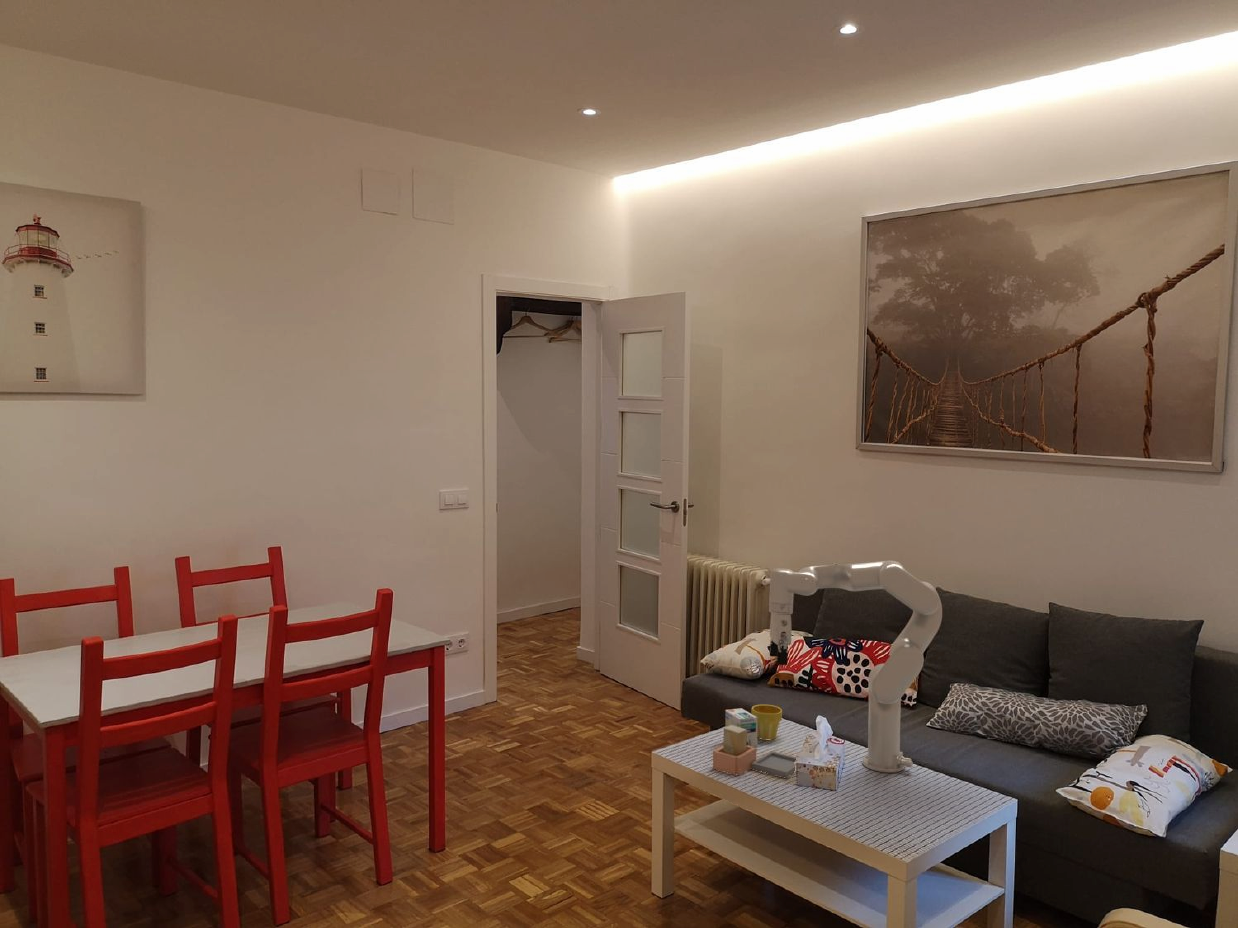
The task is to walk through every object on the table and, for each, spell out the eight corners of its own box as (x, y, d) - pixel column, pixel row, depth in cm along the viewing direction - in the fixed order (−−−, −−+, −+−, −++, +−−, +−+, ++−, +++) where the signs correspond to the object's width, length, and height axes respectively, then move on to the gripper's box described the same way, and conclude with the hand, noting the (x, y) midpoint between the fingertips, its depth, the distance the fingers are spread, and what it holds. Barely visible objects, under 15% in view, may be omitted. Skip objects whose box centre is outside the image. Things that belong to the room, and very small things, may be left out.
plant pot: (786, 735, 302) (786, 707, 302) (774, 744, 293) (775, 715, 293) (758, 729, 307) (758, 702, 307) (746, 738, 299) (746, 710, 298)
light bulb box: (758, 749, 289) (758, 716, 288) (740, 751, 286) (740, 719, 286) (741, 738, 299) (742, 707, 298) (724, 741, 296) (724, 709, 296)
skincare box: (722, 765, 274) (722, 727, 274) (730, 762, 277) (731, 724, 277) (738, 771, 270) (738, 732, 269) (747, 767, 273) (747, 729, 272)
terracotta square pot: (756, 764, 275) (757, 747, 275) (738, 776, 266) (738, 758, 266) (730, 757, 281) (730, 740, 281) (711, 768, 272) (712, 751, 272)
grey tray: (805, 765, 275) (805, 759, 275) (786, 778, 264) (786, 772, 264) (771, 756, 282) (771, 750, 282) (751, 769, 272) (751, 762, 272)
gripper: (799, 613, 273) (796, 668, 273) (785, 602, 290) (783, 653, 291) (775, 613, 272) (773, 667, 273) (763, 601, 289) (760, 652, 290)
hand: (778, 660), depth 282 cm, fingers open, 9 cm apart
